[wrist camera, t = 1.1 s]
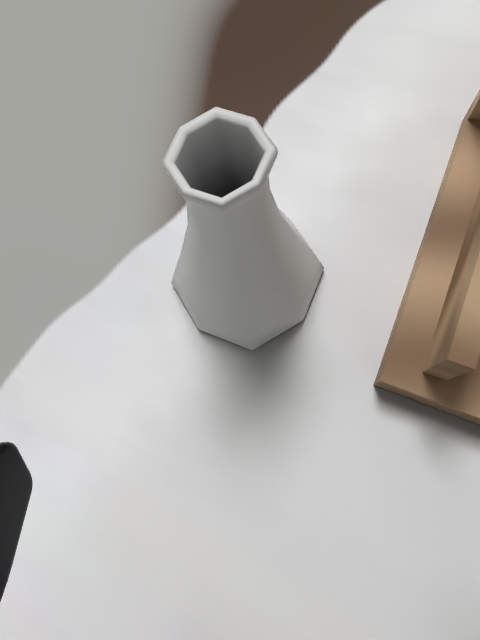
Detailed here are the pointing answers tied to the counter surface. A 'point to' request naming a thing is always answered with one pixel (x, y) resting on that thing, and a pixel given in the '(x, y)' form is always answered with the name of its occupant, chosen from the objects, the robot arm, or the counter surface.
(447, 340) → the spice stand
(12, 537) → the robot arm
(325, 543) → the counter surface
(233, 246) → the flask
